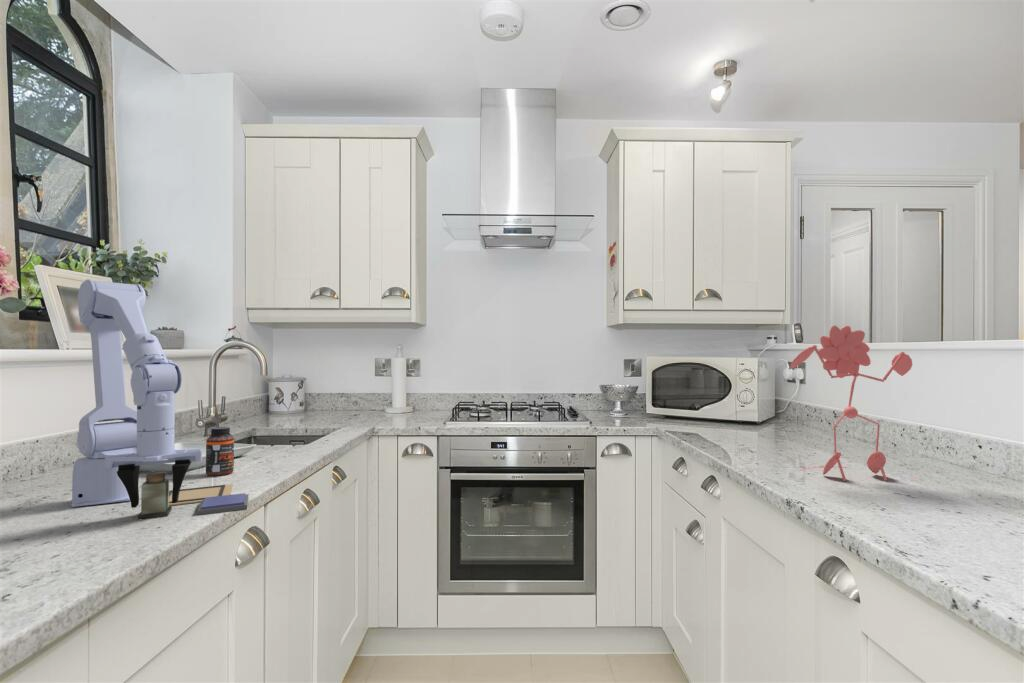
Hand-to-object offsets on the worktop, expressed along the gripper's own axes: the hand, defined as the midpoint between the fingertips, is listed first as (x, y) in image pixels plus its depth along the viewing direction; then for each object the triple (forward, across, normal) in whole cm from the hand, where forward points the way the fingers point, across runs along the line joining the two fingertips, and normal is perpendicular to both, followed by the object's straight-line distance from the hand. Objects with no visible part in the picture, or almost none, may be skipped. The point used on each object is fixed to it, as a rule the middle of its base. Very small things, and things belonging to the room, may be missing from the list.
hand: (155, 503), depth 93 cm
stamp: (+2, 0, 0) cm, 2 cm away
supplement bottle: (+2, +8, +31) cm, 32 cm away
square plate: (+2, -3, +51) cm, 51 cm away
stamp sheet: (+2, +5, +11) cm, 12 cm away
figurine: (+2, +141, -38) cm, 146 cm away
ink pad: (+2, +11, 0) cm, 11 cm away
